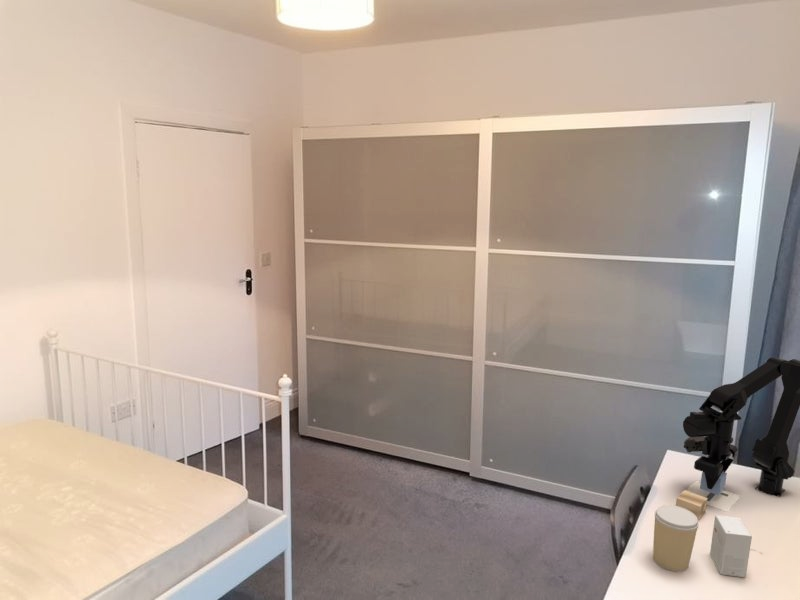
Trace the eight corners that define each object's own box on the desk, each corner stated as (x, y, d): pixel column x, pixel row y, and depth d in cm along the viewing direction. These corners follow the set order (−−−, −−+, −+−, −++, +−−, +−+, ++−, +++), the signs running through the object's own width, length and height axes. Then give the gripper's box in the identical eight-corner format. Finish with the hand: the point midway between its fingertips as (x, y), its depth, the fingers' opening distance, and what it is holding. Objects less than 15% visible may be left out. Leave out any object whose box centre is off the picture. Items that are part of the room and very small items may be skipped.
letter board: (695, 482, 181) (696, 480, 181) (740, 497, 173) (740, 496, 173) (681, 496, 173) (681, 494, 172) (727, 513, 164) (727, 511, 164)
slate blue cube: (705, 482, 176) (707, 466, 175) (724, 489, 172) (726, 472, 171) (699, 488, 172) (702, 472, 171) (718, 495, 169) (721, 478, 168)
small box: (745, 578, 138) (752, 536, 135) (719, 574, 139) (725, 533, 136) (734, 557, 145) (740, 517, 143) (709, 553, 146) (715, 514, 144)
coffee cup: (692, 556, 145) (698, 510, 143) (692, 578, 137) (699, 530, 134) (650, 545, 149) (656, 500, 147) (648, 566, 141) (654, 519, 138)
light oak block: (681, 506, 168) (684, 490, 167) (705, 515, 164) (707, 498, 163) (674, 515, 163) (676, 497, 162) (697, 523, 159) (700, 506, 158)
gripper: (700, 416, 181) (694, 465, 184) (678, 434, 168) (671, 486, 171) (742, 428, 174) (734, 478, 177) (721, 447, 160) (713, 501, 163)
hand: (712, 485), depth 172 cm, fingers closed on slate blue cube, 5 cm apart
